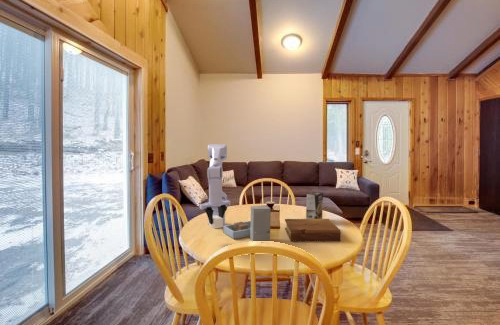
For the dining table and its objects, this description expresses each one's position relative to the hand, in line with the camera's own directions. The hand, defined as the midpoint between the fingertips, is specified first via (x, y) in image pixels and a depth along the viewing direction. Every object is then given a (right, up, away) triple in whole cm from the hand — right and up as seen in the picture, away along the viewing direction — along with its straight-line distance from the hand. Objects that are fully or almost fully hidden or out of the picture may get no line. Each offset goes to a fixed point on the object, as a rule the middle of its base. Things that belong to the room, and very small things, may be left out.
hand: (215, 222), depth 125 cm
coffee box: (+52, -7, +34) cm, 63 cm away
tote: (+12, -8, +15) cm, 21 cm away
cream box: (0, -2, 0) cm, 2 cm away
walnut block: (+11, -8, +13) cm, 19 cm away
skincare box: (+20, -9, +4) cm, 23 cm away
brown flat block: (+45, -9, +12) cm, 48 cm away
